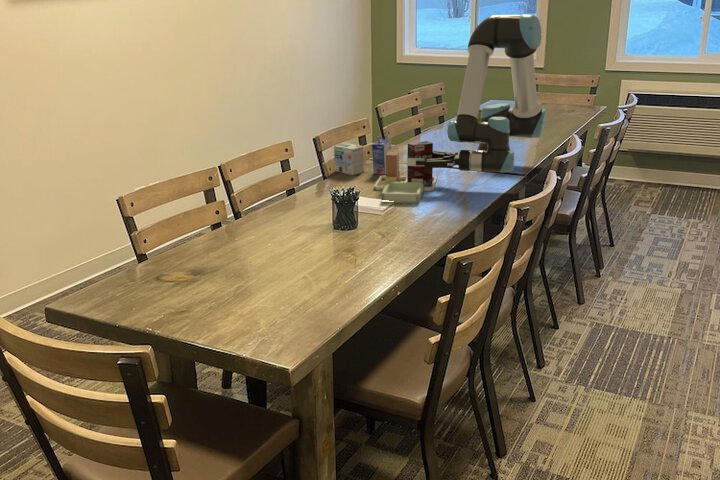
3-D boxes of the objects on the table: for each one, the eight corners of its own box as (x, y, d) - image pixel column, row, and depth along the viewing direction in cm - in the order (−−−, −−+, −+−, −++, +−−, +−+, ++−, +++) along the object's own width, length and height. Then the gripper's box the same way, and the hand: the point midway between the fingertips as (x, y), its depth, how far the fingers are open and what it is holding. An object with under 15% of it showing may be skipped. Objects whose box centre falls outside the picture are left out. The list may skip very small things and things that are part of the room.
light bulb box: (334, 171, 280) (333, 145, 276) (345, 168, 284) (344, 142, 280) (353, 175, 273) (352, 148, 269) (364, 171, 277) (363, 145, 274)
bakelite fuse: (399, 182, 261) (398, 151, 256) (396, 186, 255) (396, 155, 251) (388, 182, 261) (388, 151, 257) (386, 186, 256) (385, 155, 252)
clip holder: (437, 179, 263) (437, 169, 261) (433, 191, 248) (433, 180, 246) (380, 178, 267) (380, 168, 265) (373, 189, 252) (373, 179, 251)
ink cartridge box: (379, 168, 282) (378, 133, 277) (392, 168, 281) (392, 133, 276) (372, 174, 274) (371, 138, 269) (385, 174, 272) (384, 138, 267)
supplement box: (413, 188, 252) (413, 145, 247) (407, 185, 256) (406, 143, 251) (433, 184, 256) (433, 142, 251) (426, 181, 260) (426, 140, 255)
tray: (423, 191, 248) (423, 182, 247) (418, 203, 234) (418, 194, 233) (388, 190, 251) (387, 181, 249) (381, 202, 237) (381, 193, 236)
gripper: (466, 178, 239) (403, 175, 245) (474, 163, 259) (416, 161, 265) (466, 157, 237) (403, 155, 243) (474, 143, 257) (416, 142, 263)
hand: (410, 158), depth 254 cm, fingers open, 10 cm apart
